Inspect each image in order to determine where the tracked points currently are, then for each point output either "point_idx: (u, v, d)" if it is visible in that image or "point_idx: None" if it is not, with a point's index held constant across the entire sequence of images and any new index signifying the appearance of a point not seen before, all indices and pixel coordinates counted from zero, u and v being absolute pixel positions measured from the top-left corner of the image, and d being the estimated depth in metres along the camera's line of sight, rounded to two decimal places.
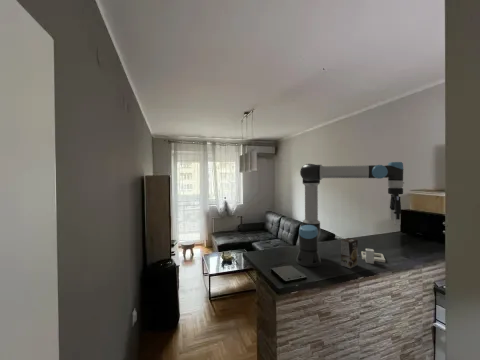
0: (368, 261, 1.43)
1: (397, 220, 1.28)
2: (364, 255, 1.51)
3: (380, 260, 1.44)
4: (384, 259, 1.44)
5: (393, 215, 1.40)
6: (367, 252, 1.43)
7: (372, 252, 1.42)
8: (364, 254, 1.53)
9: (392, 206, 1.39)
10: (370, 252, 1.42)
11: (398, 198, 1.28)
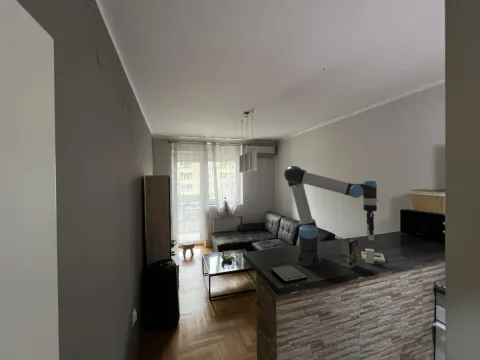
0: (368, 261, 1.43)
1: (371, 236, 1.37)
2: (364, 255, 1.51)
3: (380, 260, 1.44)
4: (384, 259, 1.44)
5: (369, 230, 1.49)
6: (367, 252, 1.43)
7: (372, 252, 1.42)
8: (364, 254, 1.53)
9: (368, 221, 1.49)
10: (370, 252, 1.42)
11: (371, 215, 1.37)
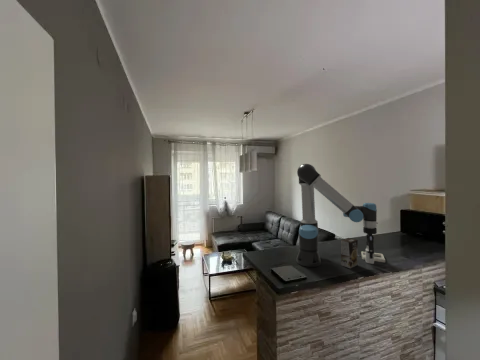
0: (368, 261, 1.43)
1: (370, 259, 1.38)
2: (364, 255, 1.51)
3: (380, 260, 1.44)
4: (384, 259, 1.44)
5: None
6: (367, 252, 1.43)
7: None
8: (364, 254, 1.53)
9: (368, 243, 1.49)
10: None
11: (371, 238, 1.37)
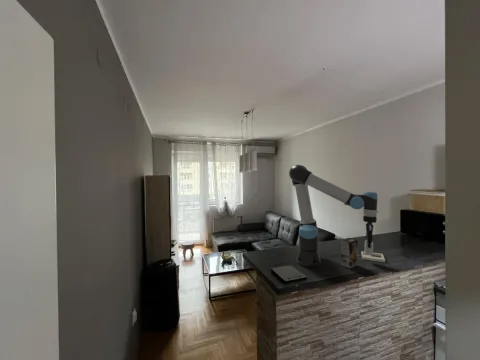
0: (367, 253, 1.43)
1: (368, 248, 1.42)
2: (364, 255, 1.51)
3: (380, 260, 1.44)
4: (384, 259, 1.44)
5: None
6: (366, 244, 1.43)
7: None
8: (364, 254, 1.53)
9: None
10: None
11: (371, 229, 1.38)
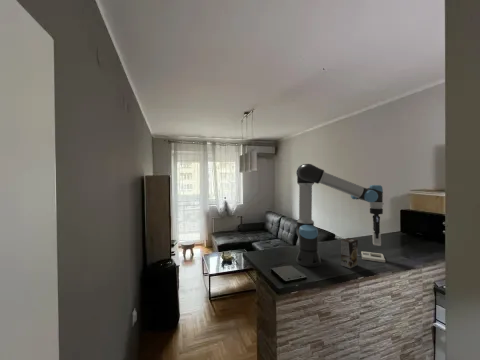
0: (375, 243, 1.49)
1: (376, 239, 1.48)
2: (364, 255, 1.51)
3: (380, 260, 1.44)
4: (384, 259, 1.44)
5: None
6: (374, 235, 1.49)
7: (379, 235, 1.48)
8: (364, 254, 1.53)
9: (374, 226, 1.53)
10: None
11: (378, 220, 1.45)
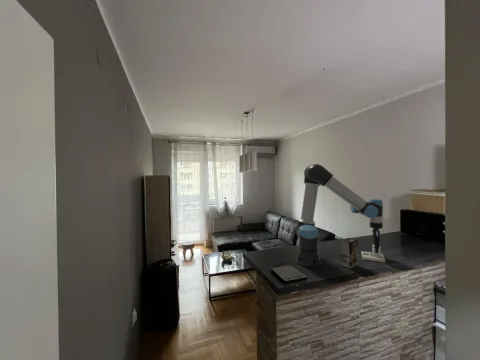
0: None
1: (376, 253, 1.48)
2: (364, 255, 1.51)
3: (380, 260, 1.44)
4: (384, 259, 1.44)
5: None
6: None
7: (379, 248, 1.48)
8: (364, 254, 1.53)
9: None
10: None
11: (377, 235, 1.45)
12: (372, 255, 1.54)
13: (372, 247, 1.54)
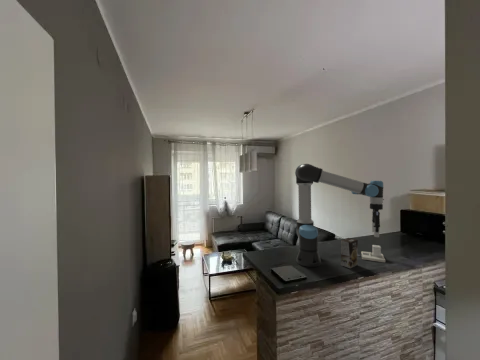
0: None
1: (376, 233, 1.44)
2: (364, 255, 1.51)
3: (380, 260, 1.44)
4: (384, 259, 1.44)
5: None
6: (374, 248, 1.50)
7: (379, 248, 1.48)
8: (364, 254, 1.53)
9: (373, 219, 1.56)
10: (377, 248, 1.49)
11: (377, 213, 1.44)
12: (372, 255, 1.54)
13: (372, 247, 1.54)
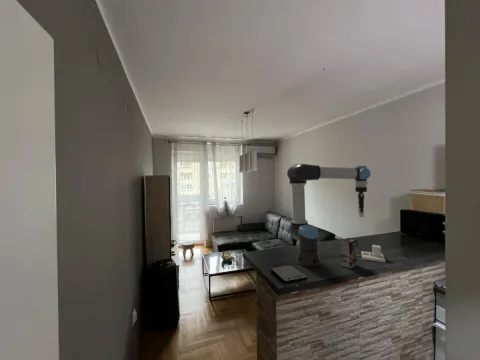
0: None
1: (361, 213, 1.58)
2: (364, 255, 1.51)
3: (380, 260, 1.44)
4: (384, 259, 1.44)
5: None
6: (374, 248, 1.50)
7: (379, 248, 1.48)
8: (364, 254, 1.53)
9: (359, 202, 1.69)
10: (377, 248, 1.49)
11: (362, 195, 1.57)
12: (372, 255, 1.54)
13: (372, 247, 1.54)
